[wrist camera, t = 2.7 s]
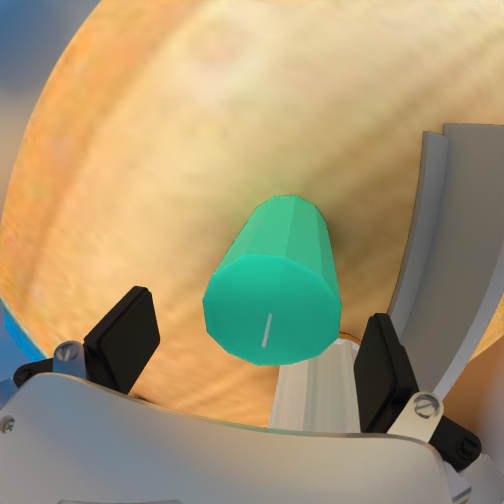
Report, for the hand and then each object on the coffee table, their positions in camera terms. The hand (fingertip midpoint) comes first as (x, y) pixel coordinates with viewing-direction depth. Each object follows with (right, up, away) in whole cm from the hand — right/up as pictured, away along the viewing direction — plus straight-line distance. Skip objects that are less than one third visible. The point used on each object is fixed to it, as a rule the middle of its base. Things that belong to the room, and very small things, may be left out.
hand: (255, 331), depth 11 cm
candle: (+3, +5, +10) cm, 11 cm away
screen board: (+14, +3, +8) cm, 17 cm away
